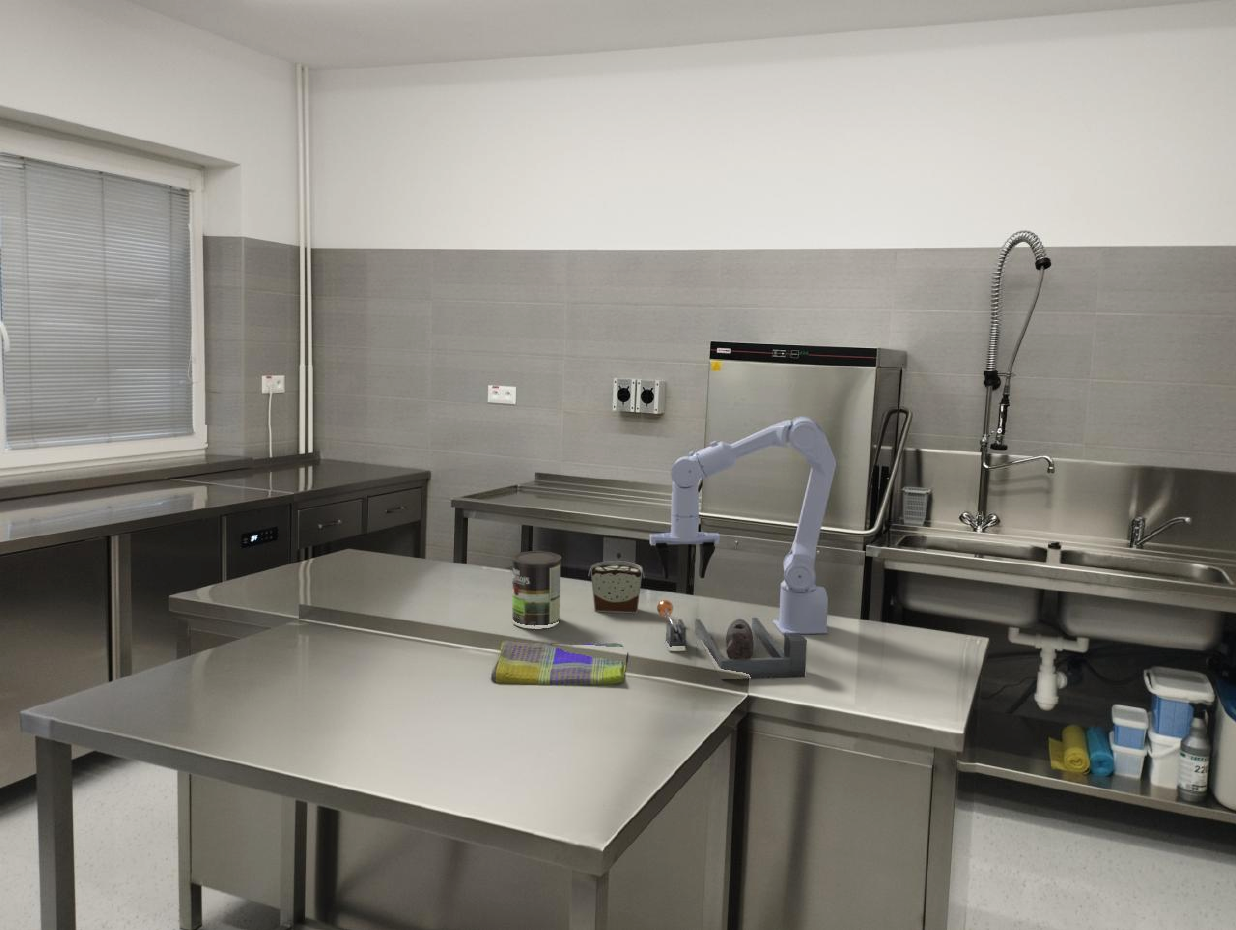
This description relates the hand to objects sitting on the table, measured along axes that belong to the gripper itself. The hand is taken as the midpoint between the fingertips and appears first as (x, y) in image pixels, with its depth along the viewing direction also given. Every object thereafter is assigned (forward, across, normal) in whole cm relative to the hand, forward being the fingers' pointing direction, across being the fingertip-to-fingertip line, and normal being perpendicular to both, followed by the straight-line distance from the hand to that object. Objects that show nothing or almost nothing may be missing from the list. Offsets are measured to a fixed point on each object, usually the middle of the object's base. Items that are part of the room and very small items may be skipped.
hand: (683, 577), depth 200 cm
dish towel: (+10, +27, +24) cm, 37 cm away
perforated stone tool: (+10, -8, +20) cm, 24 cm away
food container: (+10, +13, -10) cm, 19 cm away
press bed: (+10, -6, +19) cm, 22 cm away
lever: (+8, +4, +7) cm, 12 cm away
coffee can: (+10, +31, -2) cm, 33 cm away
